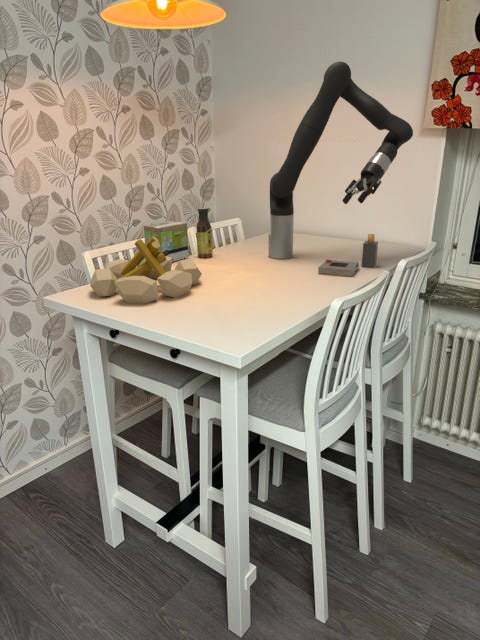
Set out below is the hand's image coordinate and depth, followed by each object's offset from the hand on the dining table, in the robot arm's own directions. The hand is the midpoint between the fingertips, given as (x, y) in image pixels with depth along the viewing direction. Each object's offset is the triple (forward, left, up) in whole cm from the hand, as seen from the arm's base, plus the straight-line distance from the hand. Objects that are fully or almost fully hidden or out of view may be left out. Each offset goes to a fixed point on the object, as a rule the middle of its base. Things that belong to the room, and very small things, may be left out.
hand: (351, 202), depth 178 cm
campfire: (-56, -52, -24) cm, 80 cm away
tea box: (-70, -16, -24) cm, 76 cm away
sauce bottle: (-58, -6, -24) cm, 63 cm away
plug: (+8, 0, -23) cm, 25 cm away
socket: (-1, -11, -23) cm, 26 cm away
